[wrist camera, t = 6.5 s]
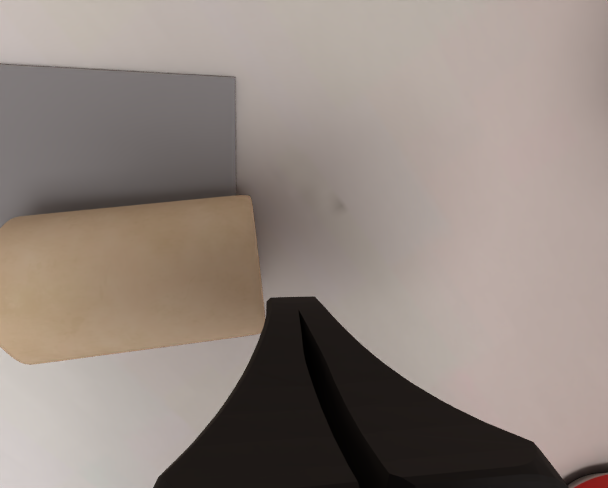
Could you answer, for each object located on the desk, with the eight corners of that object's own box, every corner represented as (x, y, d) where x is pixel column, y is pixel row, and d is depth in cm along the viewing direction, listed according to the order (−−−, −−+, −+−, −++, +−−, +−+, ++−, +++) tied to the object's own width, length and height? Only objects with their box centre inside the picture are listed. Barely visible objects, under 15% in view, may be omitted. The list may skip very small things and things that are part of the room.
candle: (270, 363, 16) (-8, 402, 15) (260, 272, 21) (44, 297, 19) (257, 249, 13) (-99, 288, 12) (248, 169, 17) (-12, 193, 16)
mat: (237, 328, 22) (237, 332, 21) (0, 337, 20) (-3, 341, 20) (235, 77, 17) (235, 77, 16) (-80, 59, 15) (-86, 59, 15)
